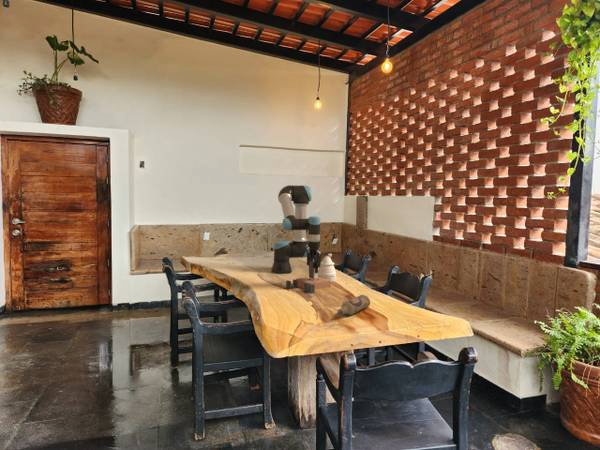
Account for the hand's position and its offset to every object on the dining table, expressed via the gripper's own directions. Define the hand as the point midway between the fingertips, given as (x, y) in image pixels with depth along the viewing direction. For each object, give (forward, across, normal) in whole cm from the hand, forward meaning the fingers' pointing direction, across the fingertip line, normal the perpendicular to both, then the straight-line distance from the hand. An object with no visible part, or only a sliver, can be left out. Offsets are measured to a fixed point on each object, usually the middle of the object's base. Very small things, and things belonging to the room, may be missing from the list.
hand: (313, 277), depth 240 cm
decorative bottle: (+6, +53, -15) cm, 56 cm away
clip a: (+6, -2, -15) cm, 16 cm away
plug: (+2, 0, 0) cm, 2 cm away
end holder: (+6, 0, 0) cm, 6 cm away
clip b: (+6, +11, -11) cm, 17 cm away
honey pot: (+6, -9, +18) cm, 21 cm away
